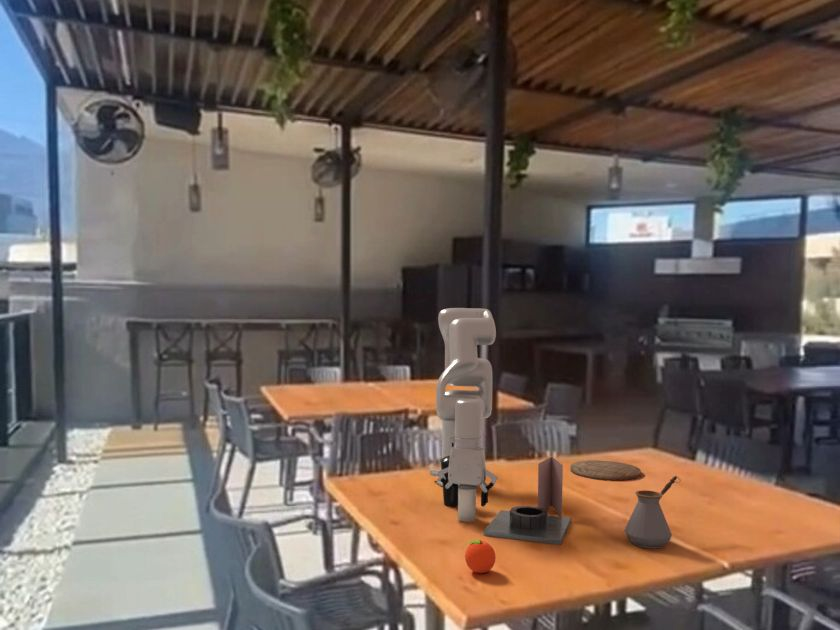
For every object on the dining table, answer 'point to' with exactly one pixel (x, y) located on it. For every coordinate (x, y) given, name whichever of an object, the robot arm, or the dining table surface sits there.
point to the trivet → (605, 470)
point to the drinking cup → (444, 465)
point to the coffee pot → (649, 520)
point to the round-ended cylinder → (466, 503)
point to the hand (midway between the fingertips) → (467, 503)
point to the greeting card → (550, 484)
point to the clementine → (480, 556)
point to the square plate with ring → (528, 525)
